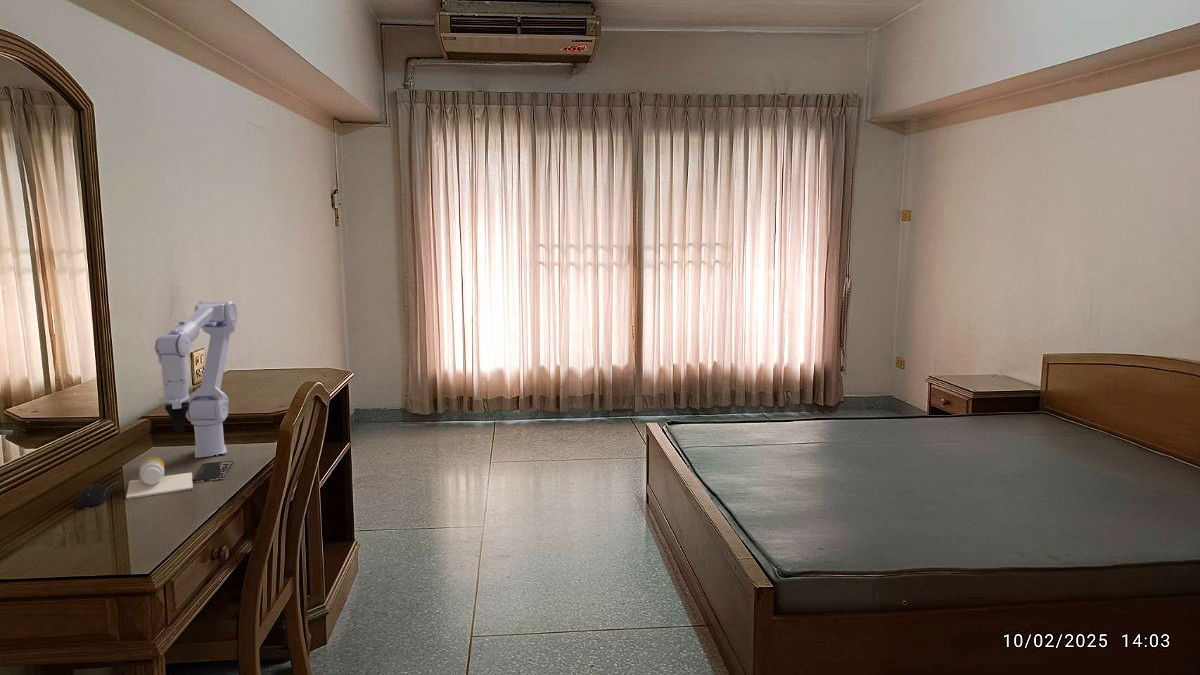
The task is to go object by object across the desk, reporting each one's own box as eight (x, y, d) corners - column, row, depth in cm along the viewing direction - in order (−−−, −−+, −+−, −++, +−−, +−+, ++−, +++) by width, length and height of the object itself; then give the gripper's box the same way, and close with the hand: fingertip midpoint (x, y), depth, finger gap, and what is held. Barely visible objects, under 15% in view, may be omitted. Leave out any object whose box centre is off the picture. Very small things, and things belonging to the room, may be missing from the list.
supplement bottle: (160, 478, 204) (159, 489, 196) (137, 474, 202) (135, 484, 193) (167, 458, 205) (167, 468, 196) (144, 453, 202) (143, 463, 193)
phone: (234, 460, 216) (225, 476, 202) (234, 464, 216) (225, 481, 202) (202, 463, 214) (190, 479, 200) (202, 467, 214) (191, 484, 200)
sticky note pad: (129, 482, 200) (129, 480, 200) (192, 474, 207) (191, 472, 207) (126, 499, 188) (126, 497, 188) (192, 489, 194) (192, 487, 194)
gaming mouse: (67, 516, 178) (65, 499, 178) (84, 495, 192) (83, 479, 192) (99, 512, 181) (98, 495, 180) (114, 492, 194) (113, 476, 194)
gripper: (158, 377, 213) (162, 427, 214) (156, 385, 200) (161, 438, 202) (187, 375, 216) (191, 424, 218) (188, 383, 203) (192, 435, 205)
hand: (179, 431), depth 210 cm, fingers closed
